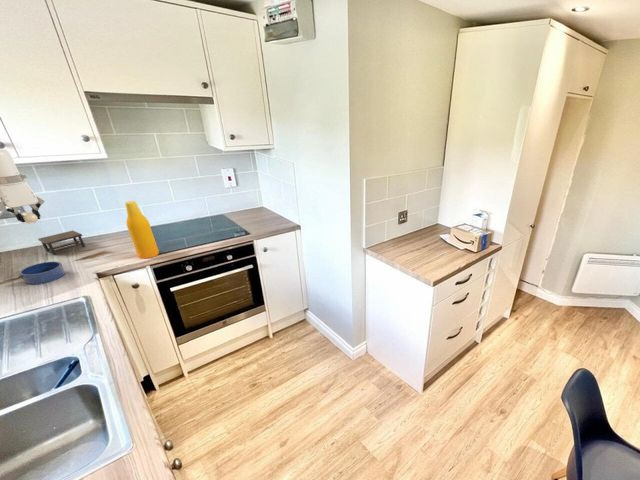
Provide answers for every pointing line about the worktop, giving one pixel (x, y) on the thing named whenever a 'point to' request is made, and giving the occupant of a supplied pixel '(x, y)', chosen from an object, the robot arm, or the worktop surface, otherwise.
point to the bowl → (42, 272)
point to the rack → (61, 237)
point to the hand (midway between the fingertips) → (30, 219)
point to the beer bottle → (140, 232)
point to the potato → (29, 217)
